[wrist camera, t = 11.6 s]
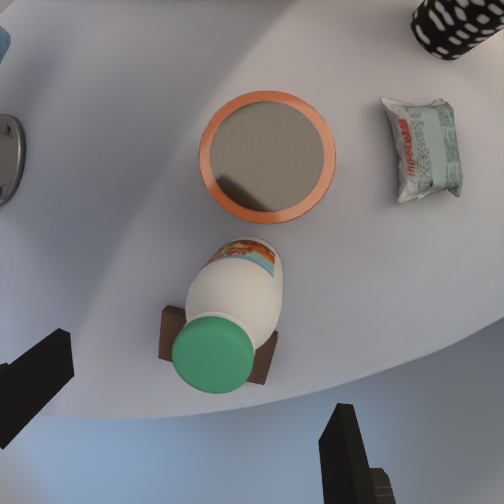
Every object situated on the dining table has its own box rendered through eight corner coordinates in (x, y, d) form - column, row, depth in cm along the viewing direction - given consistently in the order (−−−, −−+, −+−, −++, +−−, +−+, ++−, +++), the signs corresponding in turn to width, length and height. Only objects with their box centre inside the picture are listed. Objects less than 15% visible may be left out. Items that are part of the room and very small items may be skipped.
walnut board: (163, 350, 39) (158, 358, 37) (167, 304, 37) (162, 310, 35) (265, 376, 38) (264, 385, 36) (277, 331, 37) (277, 339, 35)
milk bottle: (296, 265, 35) (311, 360, 15) (253, 312, 36) (224, 433, 17) (243, 221, 34) (192, 267, 15) (202, 272, 36) (123, 360, 16)
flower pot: (211, 203, 34) (186, 209, 25) (231, 107, 32) (213, 81, 23) (309, 224, 34) (319, 238, 25) (330, 126, 31) (347, 106, 22)
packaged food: (390, 201, 32) (407, 204, 27) (374, 100, 30) (388, 88, 25) (451, 196, 31) (473, 198, 26) (436, 101, 29) (456, 91, 24)
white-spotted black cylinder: (412, 0, 25) (473, -82, 6) (463, 27, 25) (541, -32, 6) (407, 42, 27) (485, -41, 8) (461, 70, 27) (557, 18, 8)
